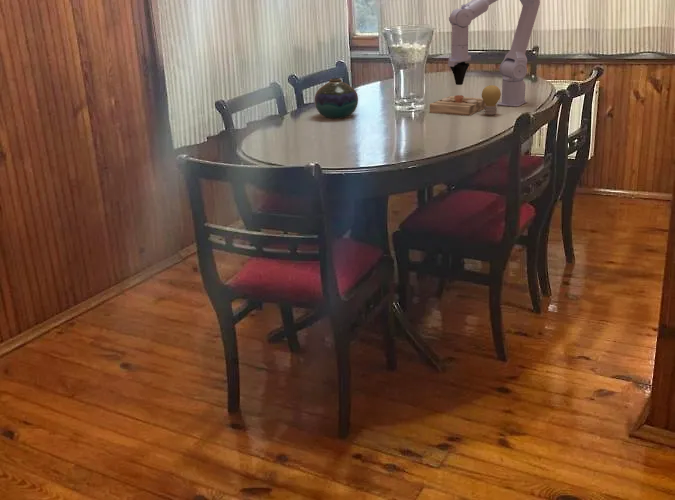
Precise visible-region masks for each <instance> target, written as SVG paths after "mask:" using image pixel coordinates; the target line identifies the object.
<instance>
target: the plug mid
mask: <svg viewBox="0 0 675 500" xmlns="http://www.w3.org/2000/svg"><path fill="white" fill-rule="evenodd" d="M453 96H454V99H455V102H457V103H462V99H463V97H465V96H464V95H462V94H461V95H460V94H458V95H453Z"/></svg>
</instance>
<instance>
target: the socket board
mask: <svg viewBox="0 0 675 500" xmlns="http://www.w3.org/2000/svg"><path fill="white" fill-rule="evenodd" d="M454 96H455V95H453V96H451V95H450V96H447V97H445V98H451V101H450V102H444V101H442V98H441V99H439V100H436V101H435V102H432V103H429V113H431V114H432V113H433V114H443V115H445V114H446V115H453V116H454V115H455V116H456V115H458V116H466V117H469V116H471V115H473V114H475V113H478V112H480V111H482V110H484V109H485V106H486V104H485V102H484V101H483V99H482V97H480V98H479V97H465V96H464V97H463V99H462V103H457V102H455V99H454ZM467 100H476V104H470V103H467Z"/></svg>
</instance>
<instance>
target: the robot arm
mask: <svg viewBox="0 0 675 500" xmlns="http://www.w3.org/2000/svg"><path fill="white" fill-rule="evenodd" d="M497 1H498V0H470V1H469V2H466V3H463V4H462V5H461V7H460V8H454V9H453V10H452V11H451V13H450V15H449V17H448V21H449V24H450V25H451V56H450V57H448V59H447V60H448V61H447V67H449V68H450V69H451V72H452V75H453V77H454V82H455V85H459V86H462V85H463V84H464V80H465V77H466V73H467V71H468V68H469V66H470V63H468V62H471V61H472V55H471V54H469V28H470V27H469V26H470V25H471V23H472V21H473V20H474V19H476V18H478V17H479V16H481V15H482V14H483V15H484V13H486V12H488V10H489V7H490V5H492V4H494V3H496V2H497ZM540 1H541V0H519V2H520V3H521V4H522V8H521V11H520V13H519V14H520V15H519V18H518V22H517V25H516V29H515V32H514V36H513V40H512V43H511V46H510V48H509V49H510V50H509V51H508V52H507V53H506V54H505V55H504V59H503V60H502V62H501V63H500V65H499V68H498V69H499V74H500V75H501V79H502V80H501V82H502V83H501V88H502V89H501V101H500V102H497V103H496V106H506V107H520V106H522V105H524V104H526V103H528V100H526V82H525V80H524V78H525V77H526V75H527V73H528V66H527V64H528V58H527V55H526V52H527V48H528V46H529V42H530V38H531V36H532V31H533V27H534V25H535V21H536V17H537V15H538V12H539V8H540V3H541V2H540Z"/></svg>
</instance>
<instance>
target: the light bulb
mask: <svg viewBox="0 0 675 500" xmlns="http://www.w3.org/2000/svg"><path fill="white" fill-rule="evenodd" d="M501 97H502V91H501V89H500V88H499V87H498V86H496V85H493V84H491V85H487V86H485V87H484V88H483V89H482V92H481V98H482V99H483V101H484V102H485V104H486V106H485V110H484V111H485V112H484V113H485V115H487V116H494V115H496V114H497V104H498V103H499V101H500V99H501Z"/></svg>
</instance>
